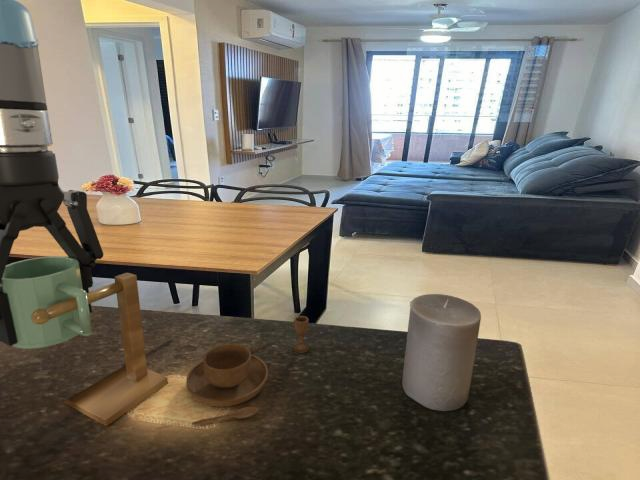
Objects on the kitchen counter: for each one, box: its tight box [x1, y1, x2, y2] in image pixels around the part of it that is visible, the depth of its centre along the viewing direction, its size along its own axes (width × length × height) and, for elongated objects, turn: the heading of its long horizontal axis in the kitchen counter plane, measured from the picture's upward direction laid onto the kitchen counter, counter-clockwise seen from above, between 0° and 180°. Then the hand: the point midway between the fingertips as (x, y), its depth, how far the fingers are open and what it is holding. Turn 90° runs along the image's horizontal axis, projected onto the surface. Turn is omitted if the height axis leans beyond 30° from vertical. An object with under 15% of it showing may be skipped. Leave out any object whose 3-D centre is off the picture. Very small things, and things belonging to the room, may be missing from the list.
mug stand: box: [31, 272, 169, 427], centre depth 52 cm, size 12×14×17 cm
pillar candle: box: [401, 293, 482, 412], centre depth 56 cm, size 10×10×15 cm
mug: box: [0, 255, 93, 350], centre depth 48 cm, size 13×9×9 cm, turn 63°
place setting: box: [185, 315, 310, 426], centre depth 58 cm, size 18×20×6 cm
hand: (48, 324), depth 50 cm, fingers closed on mug, 9 cm apart
